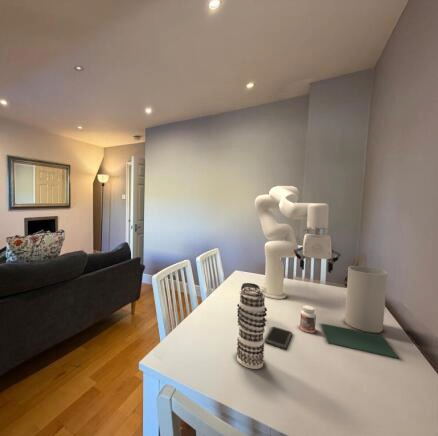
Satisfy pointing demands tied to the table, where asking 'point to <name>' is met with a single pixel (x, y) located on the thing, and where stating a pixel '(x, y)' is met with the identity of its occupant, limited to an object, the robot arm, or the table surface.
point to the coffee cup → (249, 285)
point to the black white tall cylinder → (251, 327)
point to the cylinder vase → (365, 298)
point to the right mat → (358, 340)
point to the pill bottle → (308, 319)
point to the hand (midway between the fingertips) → (315, 270)
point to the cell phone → (278, 337)
